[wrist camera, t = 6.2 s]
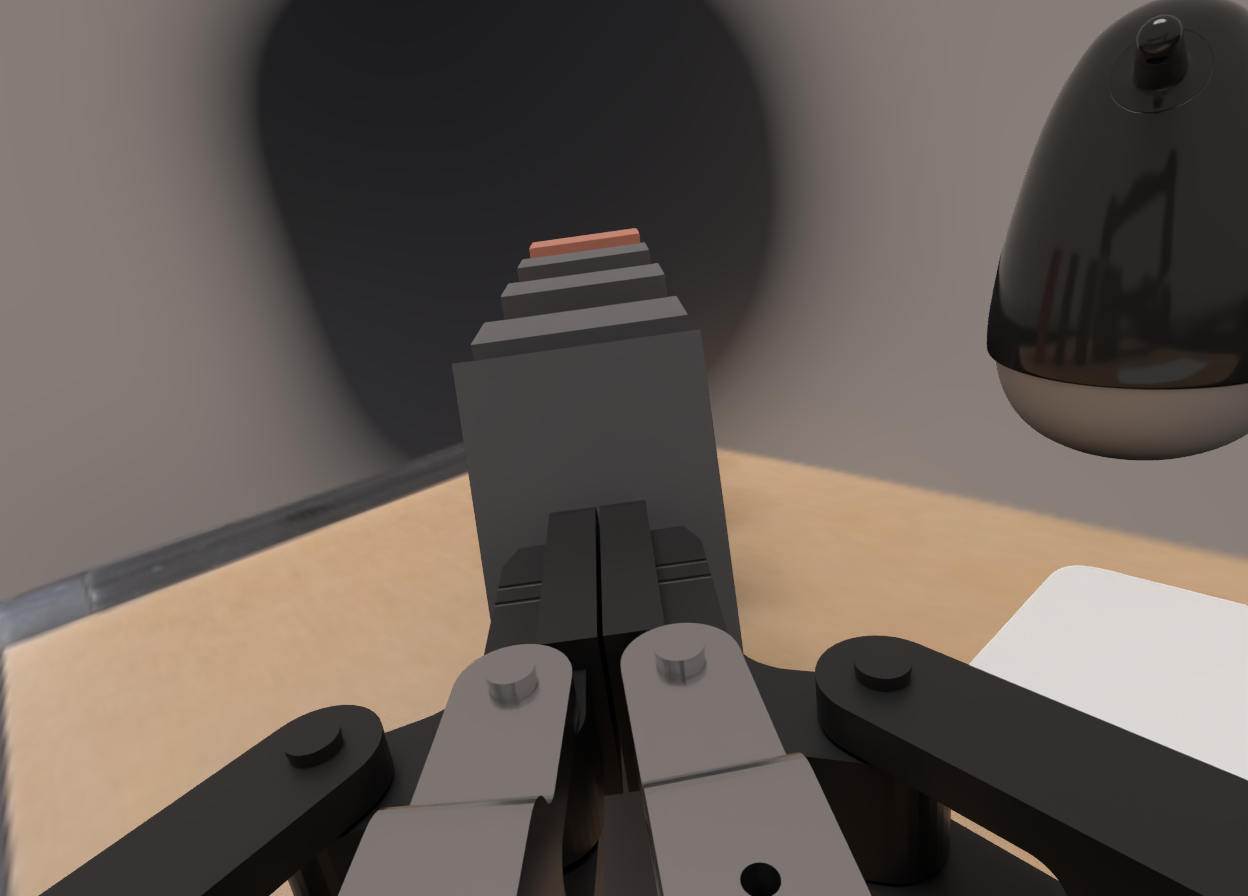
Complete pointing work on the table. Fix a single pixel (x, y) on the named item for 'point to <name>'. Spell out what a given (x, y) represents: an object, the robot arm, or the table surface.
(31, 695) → the table surface
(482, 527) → the domino
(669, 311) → the domino
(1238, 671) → the smartphone
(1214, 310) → the black egg shape
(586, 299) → the domino
